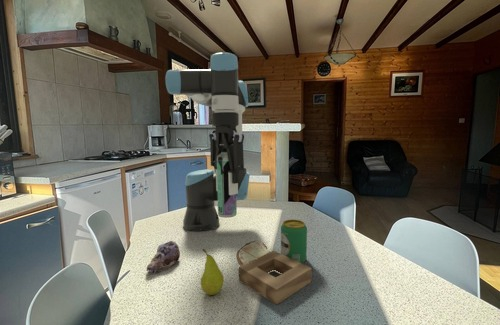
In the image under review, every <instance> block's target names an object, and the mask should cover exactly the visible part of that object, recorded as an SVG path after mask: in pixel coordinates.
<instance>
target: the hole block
mask: <svg viewBox="0 0 500 325" xmlns="http://www.w3.org/2000/svg"><path fill="white" fill-rule="evenodd" d="M237 269H238V281H239V282H240V283H242V284H243V285H245V286H247V287H249V288H250V289H252V290H253V291H255V292H256V293H257V294H258V295H260V296H262V297H263V298H264V299H266V300H268V301H269V302H271V303H273V304H274V305H275V306H277V305H279V304H280V303H282V302H283V301H284V300H287V298H290V297H291V296H292V295H294V294H295V293H297V292H298V291H300V290H301V289H303V288H304V287H306V286H307V285H308V284H310V283H311V282H312V270H313V269H312V267H310V266H308V265H306V264H304V263H303V264H302V263H300V262H297V261H295V260H293V259H291V258H289V257H287V256H284V255H282V254H281V252H278V251H275V250H271V251H269V252H268V253H265V254H264V255H261V256H258V257H257V258H254V259H252V260H250V261H249V262H246V263H243V264H242V265H240V266H238V268H237ZM272 270H276V271H278V272H280V273H282V274H281V275H280V274H278V276H276V277H275V276H273V275H272V274H271V273H270V274H268V272H270V271H272Z"/></svg>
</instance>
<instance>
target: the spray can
mask: <svg viewBox="0 0 500 325" xmlns="http://www.w3.org/2000/svg"><path fill="white" fill-rule="evenodd" d="M228 171H230V166H229V160H228V155H227V150H226V149H225V148H223V151H222V152H221V154H219V155H218V156H217V190H218V201H217V214H218V217H220V218H234V217H236V216H237V213H238V212H237V201H236V194H234V195H229V175H228Z"/></svg>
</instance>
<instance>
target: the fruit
mask: <svg viewBox="0 0 500 325" xmlns="http://www.w3.org/2000/svg"><path fill="white" fill-rule="evenodd" d="M202 251H203V252H204V253H205V255H206V257H205V258H206V261H205V263H204V269H203V273H202V275H201V277H200V287H201V289H202V291H203V293H205V294H206V295H209V296H214V295H217V294H218V293H219V292H220V291H221V290H222V288H223V286H224V275H223V273H222V272H221V270H220V268H219V266H218V263H217V261H216V259H215V258H214V256H212V255H211V254H208V253H207V250H206V249H204V248H203V249H202Z"/></svg>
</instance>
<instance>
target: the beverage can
mask: <svg viewBox="0 0 500 325" xmlns="http://www.w3.org/2000/svg"><path fill="white" fill-rule="evenodd" d="M307 237H308V228H307V226H306V223H305V222H304V221H302V220H300V219H292V218H291V219H287V220H283V222H282V224H281V226H280V254H282V255H284V256H287V257H289V258H291V259H293V260H295V261H297V262H300V263H302V264H304V263H305V262H306V260H307V253H308V252H307V249H308V248H307V246H308V242H307V240H308V238H307Z"/></svg>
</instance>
